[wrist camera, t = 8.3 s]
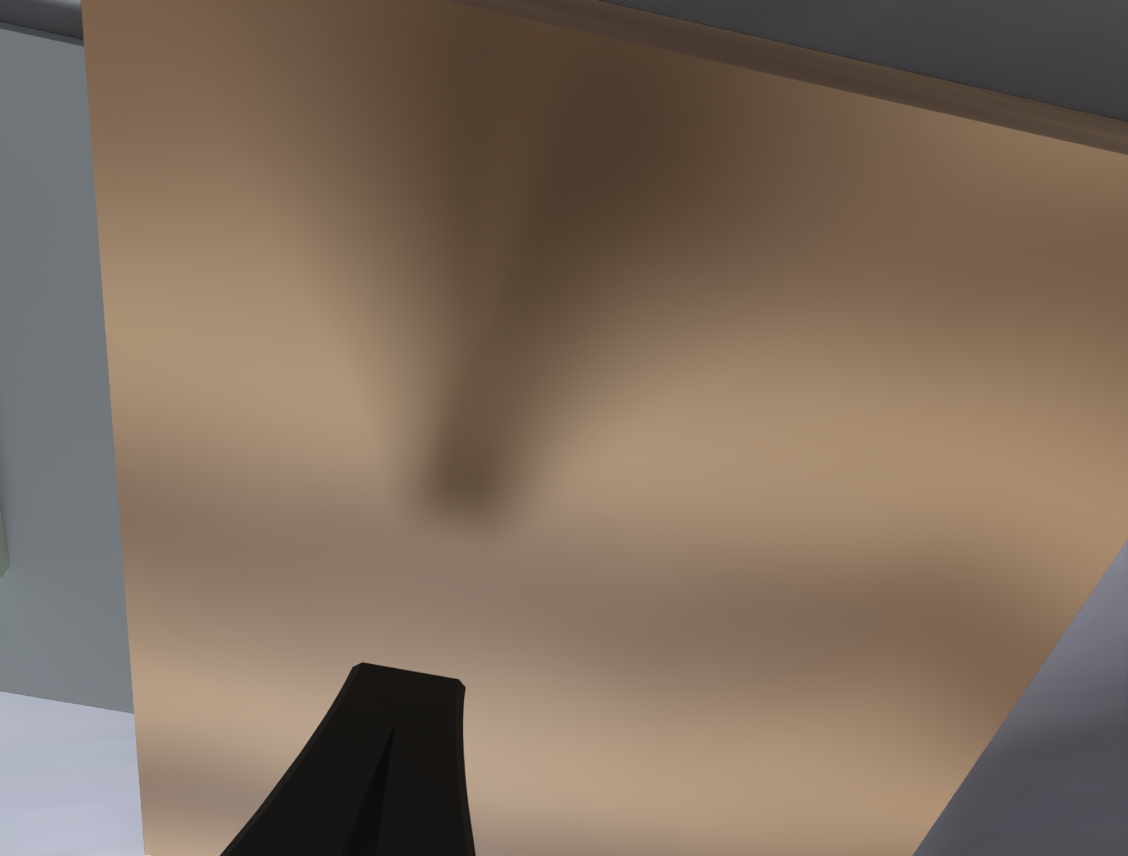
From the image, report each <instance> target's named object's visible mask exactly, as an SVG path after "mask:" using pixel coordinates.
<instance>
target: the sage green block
mask: <svg viewBox="0 0 1128 856" xmlns="http://www.w3.org/2000/svg"><path fill="white" fill-rule="evenodd" d="M8 569H9V562H8V555H7V549H6V542H5V536H4V530H3V523H2V517H1V511H0V578H1V577H2V576H3V575H4V574H5V572H6V571H7V570H8Z"/></svg>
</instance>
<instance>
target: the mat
mask: <svg viewBox="0 0 1128 856" xmlns="http://www.w3.org/2000/svg"><path fill="white" fill-rule="evenodd" d="M0 511H1V517H2V523H3V530H4V536H5V542H6V549H7V555H8V562H9V569H8V570H7V571H6V572H5V574H4V575H3V576H2V577H1V578H0V691H1V692H8V693H14V694H20V695H26V696H32V697H38V698H44V699H50V700H56V701H62V702H68V703H74V704H80V705H86V706H92V707H98V708H104V709H110V710H116V711H122V712H128V713H134V704H133V691H132V678H131V664H130V651H129V638H128V624H127V611H126V598H125V584H124V571H123V558H122V544H121V531H120V518H119V504H118V491H117V478H116V464H115V451H114V438H113V424H112V411H111V398H110V384H109V371H108V358H107V344H106V331H105V318H104V304H103V291H102V278H101V264H100V251H99V238H98V224H97V211H96V198H95V184H94V171H93V158H92V145H91V131H90V118H89V105H88V91H87V78H86V65H85V51H84V40H83V39H79V38H74V37H69V36H65V35H60V34H56V33H51V32H46V31H42V30H37V29H32V28H28V27H23V26H19V25H14V24H9V23H5V22H0Z"/></svg>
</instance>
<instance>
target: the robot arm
mask: <svg viewBox="0 0 1128 856" xmlns="http://www.w3.org/2000/svg"><path fill="white" fill-rule="evenodd" d="M465 690H466V687H465V686H464V685H463V683H462V682H461V681H460V680H459V679H456V678H450V677H444V676H438V675H433V674H427V673H421V672H416V671H410V670H404V669H399V668H393V667H387V666H381V665H376V664H370V663H364V662H362V663H360V664H358V665H356V666H354V667H352V669H351V671H350V673H349V675H348V677H347V679H346V681H345V683H344V685H343V686H342V688H341V690H340V692H339V693H338V695H337V697H336V698H335V700H334V702H333V703H332V705H331V707H330V708H329V710H328V712H327V713H326V715H325V716H324V718H323V719H322V721H321V722H320V724H319V726H318V727H317V729H316V730H315V731H314V733H313V734H312V736H311V737H310V739H309V740H308V742H307V743H306V745H305V746H304V748H303V749H302V751H301V752H300V753H299V755H298V756H297V758H296V759H295V760H294V762H293V763H292V764H291V766H290V767H289V768H288V770H287V771H286V772H285V774H284V775H283V776H282V778H281V779H280V780H279V782H278V783H277V784H276V786H275V787H274V788H273V790H272V791H271V792H270V794H269V795H268V797H267V798H266V799H265V801H264V802H263V803H262V804H261V806H260V807H259V808H258V810H257V811H256V812H255V813H254V815H253V816H252V817H251V818H250V820H249V821H248V822H247V823H246V824H245V826H244V827H243V828H242V829H241V830H240V832H239V833H238V834H237V835H236V836H235V838H234V839H233V840H232V841H231V842H230V844H229V845H228V846H227V847H226V848H225V850H224V851H223V852H222V853H221V854H220V856H476V853H475V846H474V839H473V832H472V825H471V818H470V811H469V804H468V795H467V786H466V774H465V760H464V741H463V714H464V698H465Z"/></svg>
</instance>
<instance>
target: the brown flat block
mask: <svg viewBox="0 0 1128 856" xmlns="http://www.w3.org/2000/svg"><path fill="white" fill-rule="evenodd" d="M81 11H82V25H83V38H84V51H85V65H86V78H87V91H88V105H89V118H90V131H91V145H92V158H93V171H94V184H95V198H96V211H97V224H98V238H99V251H100V264H101V278H102V291H103V304H104V318H105V331H106V344H107V358H108V371H109V384H110V398H111V411H112V424H113V438H114V451H115V464H116V478H117V491H118V504H119V518H120V531H121V544H122V558H123V571H124V584H125V598H126V611H127V624H128V638H129V651H130V664H131V678H132V691H133V704H134V717H135V731H136V744H137V757H138V771H139V784H140V797H141V811H142V824H143V837H144V851H145V855H151V856H220V854H221V853H222V852H223V851H224V850H225V848H226V847H227V846H228V845H229V844H230V842H231V841H232V840H233V839H234V838H235V836H236V835H237V834H238V833H239V832H240V830H241V829H242V828H243V827H244V826H245V824H246V823H247V822H248V821H249V820H250V818H251V817H252V816H253V815H254V813H255V812H256V811H257V810H258V808H259V807H260V806H261V804H262V803H263V802H264V801H265V799H266V798H267V797H268V795H269V794H270V792H271V791H272V790H273V788H274V787H275V786H276V784H277V783H278V782H279V780H280V779H281V778H282V776H283V775H284V774H285V772H286V771H287V770H288V768H289V767H290V766H291V764H292V763H293V762H294V760H295V759H296V758H297V756H298V755H299V753H300V752H301V751H302V749H303V748H304V746H305V745H306V743H307V742H308V740H309V739H310V737H311V736H312V734H313V733H314V731H315V730H316V729H317V727H318V726H319V724H320V722H321V721H322V719H323V718H324V716H325V715H326V713H327V712H328V710H329V708H330V707H331V705H332V703H333V702H334V700H335V698H336V697H337V695H338V693H339V692H340V690H341V688H342V686H343V685H344V683H345V681H346V679H347V677H348V675H349V673H350V671H351V669H352V667H354V666H356V665H358V664H360V663H362V662H364V663H370V664H376V665H381V666H387V667H393V668H399V669H404V670H410V671H416V672H421V673H427V674H433V675H438V676H444V677H450V678H456V679H459V680H460V681H461V682H462V683H463V685H464V686H465V687H466V690H465V698H464V714H463V741H464V760H465V774H466V786H467V795H468V804H469V811H470V818H471V825H472V832H473V839H474V846H475V853H476V856H913V854H914V853H915V851H916V850H917V848H918V847H919V845H920V844H921V842H922V841H923V839H924V838H925V836H926V835H927V833H928V832H929V831H930V829H931V828H932V826H933V825H934V823H935V822H936V820H937V819H938V817H939V816H940V814H941V813H942V811H943V810H944V808H945V807H946V806H947V804H948V803H949V801H950V800H951V798H952V797H953V795H954V794H955V792H956V791H957V789H958V788H959V786H960V785H961V783H962V782H963V781H964V779H965V778H966V776H967V775H968V773H969V772H970V770H971V769H972V767H973V766H974V764H975V763H976V761H977V760H978V758H979V757H980V756H981V754H982V753H983V751H984V750H985V748H986V747H987V745H988V744H989V742H990V741H991V739H992V738H993V736H994V735H995V734H996V732H997V731H998V729H999V728H1000V726H1001V725H1002V723H1003V722H1004V720H1005V719H1006V717H1007V716H1008V714H1009V713H1010V711H1011V710H1012V709H1013V707H1014V706H1015V704H1016V703H1017V701H1018V700H1019V698H1020V697H1021V695H1022V694H1023V692H1024V691H1025V689H1026V688H1027V686H1028V685H1029V684H1030V682H1031V681H1032V679H1033V678H1034V676H1035V675H1036V673H1037V672H1038V670H1039V669H1040V667H1041V666H1042V664H1043V663H1044V661H1045V660H1046V659H1047V657H1048V656H1049V654H1050V653H1051V651H1052V650H1053V648H1054V647H1055V645H1056V644H1057V642H1058V641H1059V639H1060V638H1061V636H1062V635H1063V634H1064V632H1065V631H1066V629H1067V628H1068V626H1069V625H1070V623H1071V622H1072V620H1073V619H1074V617H1075V616H1076V614H1077V613H1078V612H1079V610H1080V609H1081V607H1082V606H1083V604H1084V603H1085V601H1086V600H1087V598H1088V597H1089V595H1090V594H1091V592H1092V591H1093V589H1094V588H1095V587H1096V585H1097V584H1098V582H1099V581H1100V579H1101V578H1102V576H1103V575H1104V573H1105V572H1106V570H1107V569H1108V567H1109V566H1110V564H1111V563H1112V562H1113V560H1114V559H1115V557H1116V556H1117V554H1118V553H1119V551H1120V550H1121V548H1122V547H1123V545H1124V544H1125V542H1126V541H1127V539H1128V122H1126V121H1122V120H1118V119H1113V118H1109V117H1105V116H1100V115H1096V114H1092V113H1087V112H1083V111H1078V110H1074V109H1070V108H1065V107H1061V106H1057V105H1052V104H1048V103H1043V102H1039V101H1035V100H1030V99H1026V98H1022V97H1017V96H1013V95H1009V94H1004V93H1000V92H995V91H991V90H987V89H982V88H978V87H974V86H969V85H965V84H960V83H956V82H952V81H947V80H943V79H939V78H934V77H930V76H926V75H921V74H917V73H912V72H908V71H904V70H899V69H895V68H891V67H886V66H882V65H878V64H873V63H869V62H864V61H860V60H856V59H851V58H847V57H843V56H838V55H834V54H829V53H825V52H821V51H816V50H812V49H808V48H803V47H799V46H795V45H790V44H786V43H781V42H777V41H773V40H768V39H764V38H760V37H755V36H751V35H746V34H742V33H738V32H733V31H729V30H725V29H720V28H716V27H712V26H707V25H703V24H698V23H694V22H690V21H685V20H681V19H677V18H672V17H668V16H663V15H659V14H655V13H650V12H646V11H642V10H637V9H633V8H629V7H624V6H620V5H615V4H611V3H607V2H602V1H598V0H81Z"/></svg>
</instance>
